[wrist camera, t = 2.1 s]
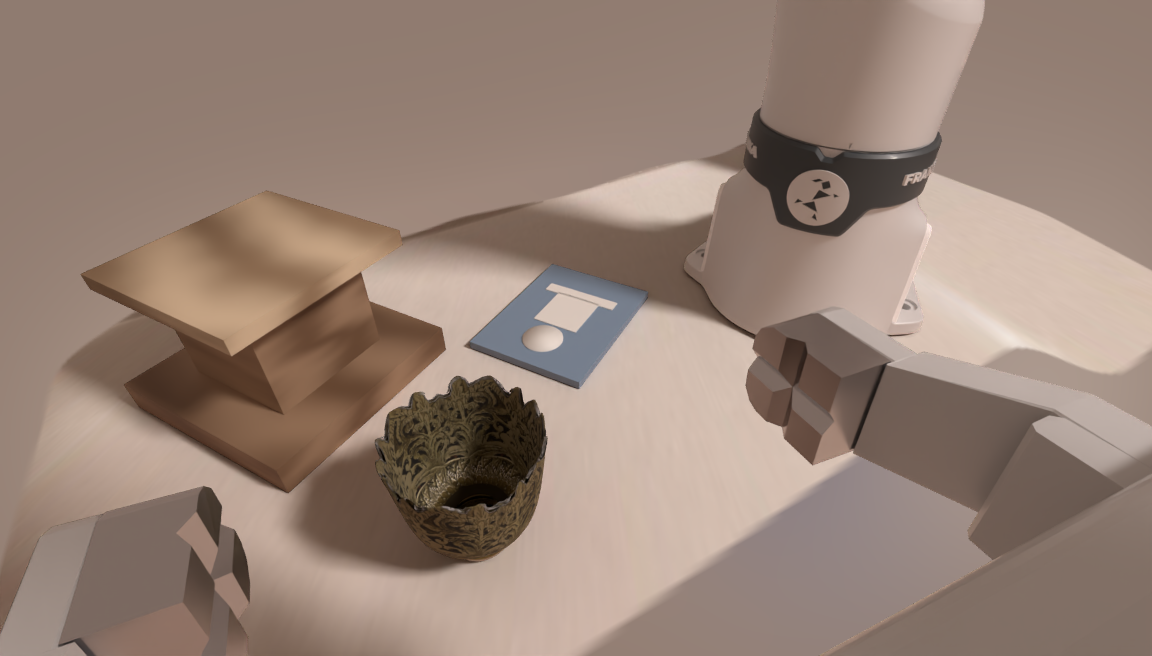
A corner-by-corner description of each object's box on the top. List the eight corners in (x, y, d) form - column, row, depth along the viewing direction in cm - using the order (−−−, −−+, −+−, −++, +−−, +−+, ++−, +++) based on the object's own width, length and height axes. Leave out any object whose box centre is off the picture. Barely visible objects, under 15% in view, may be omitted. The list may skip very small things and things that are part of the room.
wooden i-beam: (310, 297, 46) (269, 182, 40) (445, 349, 41) (422, 227, 35) (138, 406, 37) (50, 278, 31) (288, 493, 32) (217, 359, 25)
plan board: (552, 269, 50) (552, 263, 49) (647, 297, 46) (648, 291, 46) (470, 347, 41) (469, 340, 41) (579, 388, 38) (579, 381, 38)
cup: (432, 634, 26) (398, 538, 21) (392, 510, 31) (356, 408, 26) (576, 561, 29) (576, 460, 24) (517, 457, 34) (507, 357, 29)
